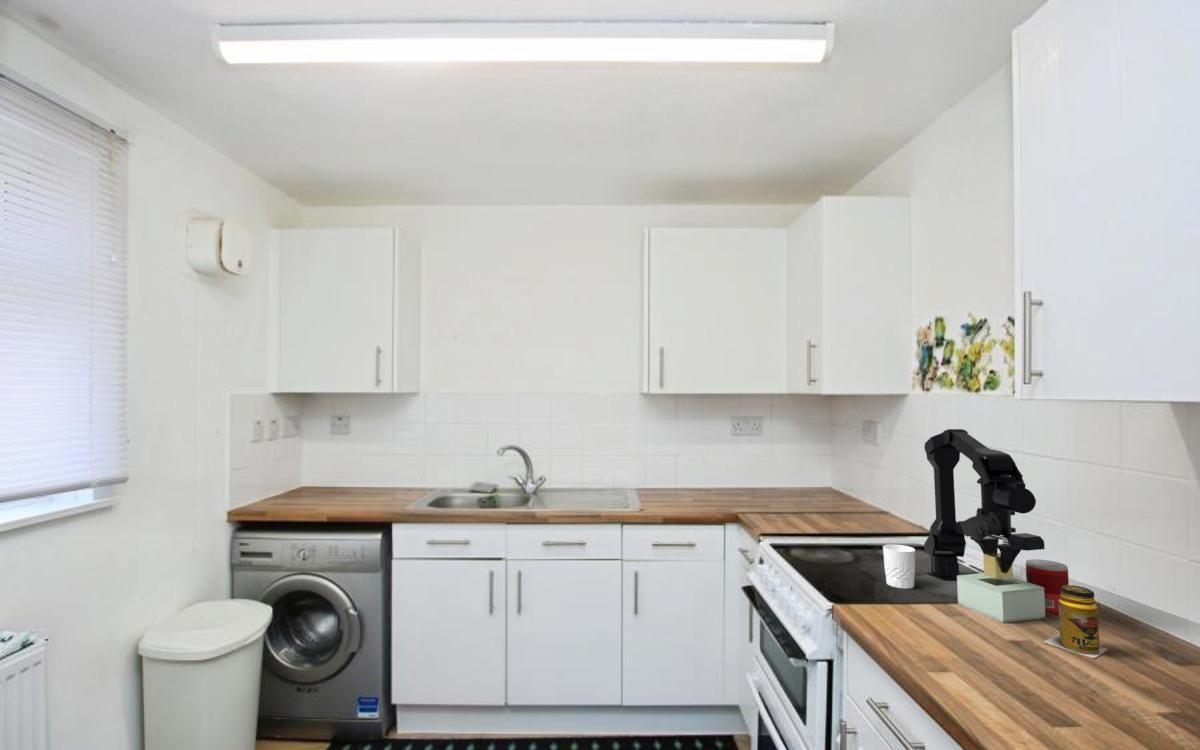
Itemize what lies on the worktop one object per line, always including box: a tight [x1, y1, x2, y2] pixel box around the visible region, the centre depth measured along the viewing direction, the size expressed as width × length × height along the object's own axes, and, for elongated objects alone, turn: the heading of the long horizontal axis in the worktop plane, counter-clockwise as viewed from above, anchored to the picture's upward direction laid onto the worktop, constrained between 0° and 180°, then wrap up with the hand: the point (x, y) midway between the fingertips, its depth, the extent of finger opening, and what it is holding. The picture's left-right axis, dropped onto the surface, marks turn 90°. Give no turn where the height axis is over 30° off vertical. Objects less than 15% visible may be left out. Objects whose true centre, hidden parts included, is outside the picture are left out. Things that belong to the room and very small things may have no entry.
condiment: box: [1042, 584, 1109, 659], centre depth 113 cm, size 7×8×12 cm
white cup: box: [882, 543, 916, 590], centre depth 151 cm, size 8×8×10 cm
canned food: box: [1025, 558, 1070, 616], centre depth 133 cm, size 8×8×11 cm
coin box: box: [956, 572, 1046, 624], centre depth 132 cm, size 12×12×7 cm
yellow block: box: [983, 552, 1014, 579], centre depth 132 cm, size 3×5×5 cm, turn 103°
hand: (998, 570), depth 132 cm, fingers closed on yellow block, 3 cm apart
